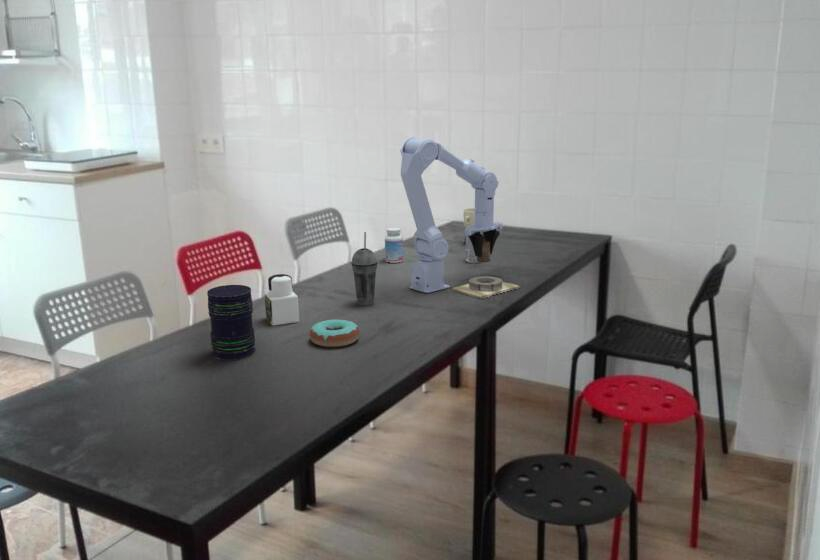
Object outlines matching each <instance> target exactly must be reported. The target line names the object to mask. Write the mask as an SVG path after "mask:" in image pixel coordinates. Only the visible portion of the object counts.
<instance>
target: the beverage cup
mask: <svg viewBox="0 0 820 560" xmlns="http://www.w3.org/2000/svg"><path fill="white" fill-rule="evenodd" d="M363 237H364V238H363V248H360V249H357V250H356V251H355V252H354V253H353V255H352V257H351V262H350V265H351V268H352V271H353V277H354V279H353V280H354V286H355V287H354V288H355V294H356V301H357V302H356V303H357V304H358V305H359V306H362V307H363V306H365V307H366V306H367V307H368V306H371V305H373V304H374V303H375V302H374V301H375V294H376V293H375V292H376V277H377V268H378V259H377V256H376V254H375V252H373V251H372V249H369V248H367V231H364V233H363Z"/></svg>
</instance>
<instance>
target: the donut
mask: <svg viewBox="0 0 820 560" xmlns="http://www.w3.org/2000/svg"><path fill="white" fill-rule="evenodd" d="M359 336H360V329H359V327H358V325H357V324H356V323H355V322H353V321H350V320H347V319H346V320H345V319H327V320H323V321H319V322H317V323H315V324H314V325H312V327H311V328H310V330H309V339H310V340H311V342H312V343H313V344H315V345H317V346H320V347H323V348H342V347H346V346H350V345H352V344H353V343H355V342H356V341H358V339H359Z"/></svg>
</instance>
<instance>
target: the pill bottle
mask: <svg viewBox="0 0 820 560" xmlns="http://www.w3.org/2000/svg"><path fill="white" fill-rule="evenodd" d="M386 234H387V235H386V236H385V237H384V255H385V256H384V259H385V262H386V263H388V262H390V263H389V264H400V263H402V262H404V240H403V239H404V238H403V236H402V235H401V228H400V227H390V228H386ZM399 262H400V263H399Z"/></svg>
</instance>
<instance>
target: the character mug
mask: <svg viewBox="0 0 820 560" xmlns="http://www.w3.org/2000/svg"><path fill="white" fill-rule="evenodd" d="M462 225H463V226H464V227H465V228H466V227H467V226H470V225H475V207H474V208H473V207H472V208H464V209H463V224H462ZM464 235H465V234H464ZM464 244H465V245H466V235H465V236H464Z"/></svg>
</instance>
